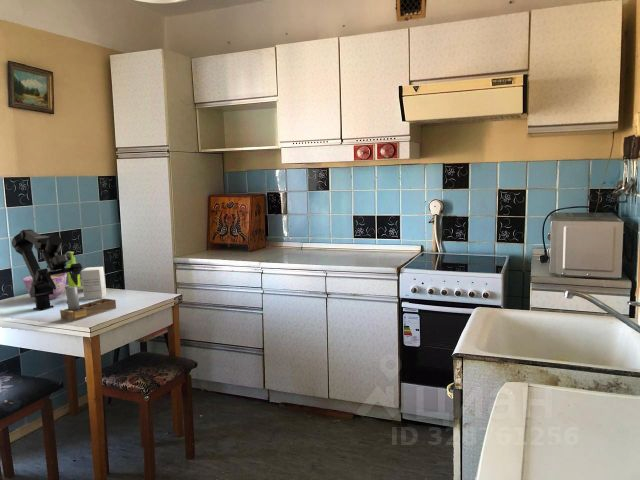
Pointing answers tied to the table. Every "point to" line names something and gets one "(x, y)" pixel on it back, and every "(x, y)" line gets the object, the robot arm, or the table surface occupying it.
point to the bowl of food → (58, 281)
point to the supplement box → (93, 283)
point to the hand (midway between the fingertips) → (66, 286)
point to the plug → (72, 298)
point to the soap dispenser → (71, 282)
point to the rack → (88, 309)
